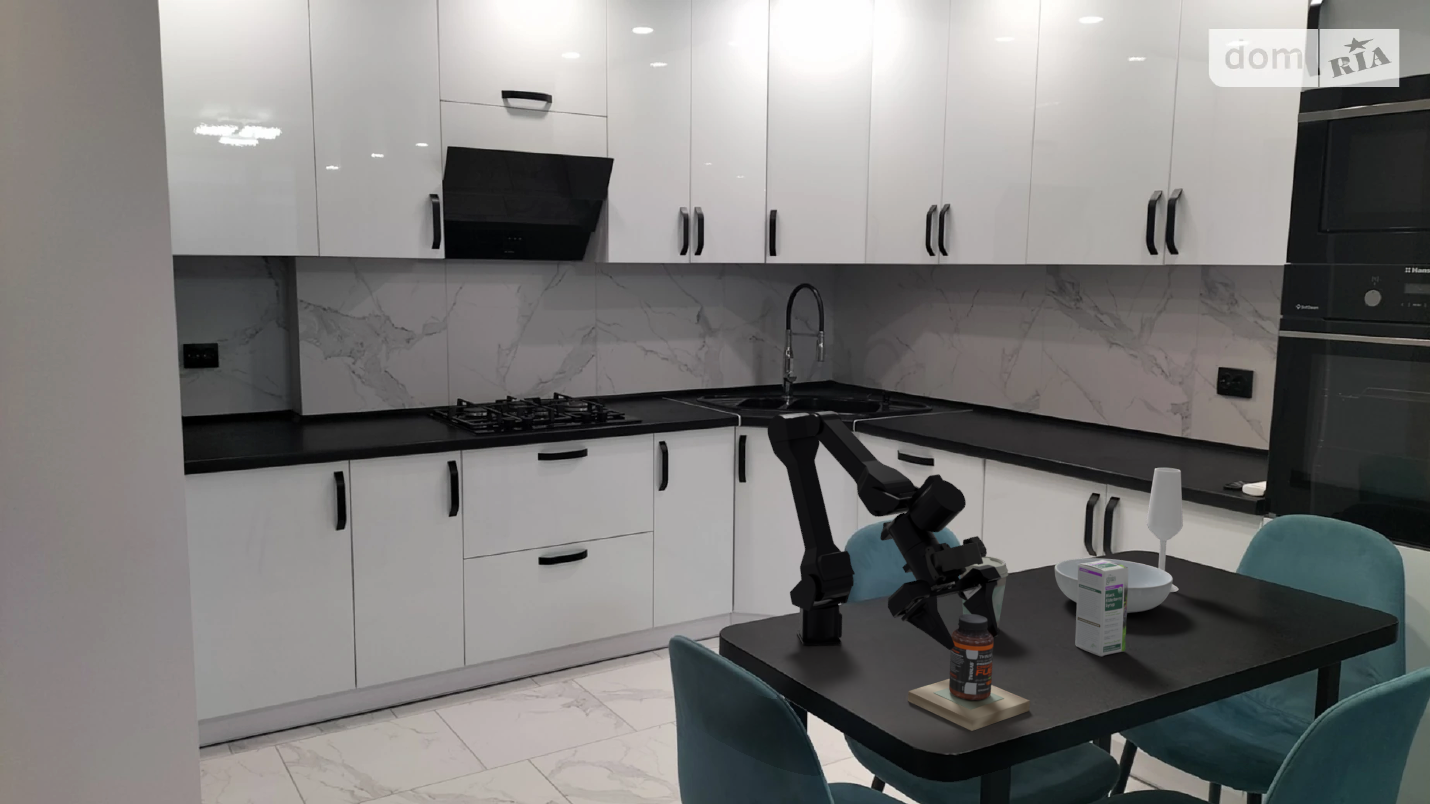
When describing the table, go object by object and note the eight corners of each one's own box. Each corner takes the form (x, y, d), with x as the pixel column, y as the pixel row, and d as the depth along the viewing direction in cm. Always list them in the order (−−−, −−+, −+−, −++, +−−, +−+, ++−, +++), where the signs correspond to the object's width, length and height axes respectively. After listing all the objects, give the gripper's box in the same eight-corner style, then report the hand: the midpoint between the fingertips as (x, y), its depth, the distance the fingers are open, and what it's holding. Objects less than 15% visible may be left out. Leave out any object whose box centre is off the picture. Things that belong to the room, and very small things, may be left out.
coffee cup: (997, 638, 176) (1000, 570, 175) (949, 629, 180) (951, 563, 179) (1012, 625, 183) (1014, 559, 182) (965, 616, 188) (967, 552, 186)
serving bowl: (1178, 602, 198) (1181, 567, 197) (1160, 632, 180) (1162, 594, 180) (1067, 584, 209) (1069, 551, 208) (1040, 611, 191) (1041, 575, 191)
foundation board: (971, 730, 140) (972, 719, 139) (908, 701, 149) (908, 690, 149) (1029, 710, 146) (1029, 700, 146) (964, 683, 156) (965, 673, 156)
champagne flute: (1155, 580, 212) (1162, 465, 209) (1185, 588, 206) (1193, 471, 203) (1135, 585, 208) (1142, 468, 205) (1165, 594, 202) (1172, 474, 200)
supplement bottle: (980, 705, 144) (983, 627, 143) (941, 695, 148) (944, 618, 146) (998, 692, 149) (1001, 617, 147) (959, 682, 152) (962, 608, 151)
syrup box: (1101, 657, 168) (1105, 570, 166) (1073, 646, 173) (1077, 561, 171) (1125, 651, 170) (1130, 566, 169) (1097, 640, 176) (1102, 558, 174)
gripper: (904, 527, 143) (962, 626, 136) (994, 511, 154) (1052, 602, 146) (864, 569, 151) (916, 665, 143) (952, 551, 161) (1005, 640, 153)
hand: (974, 642), depth 146 cm, fingers open, 9 cm apart
